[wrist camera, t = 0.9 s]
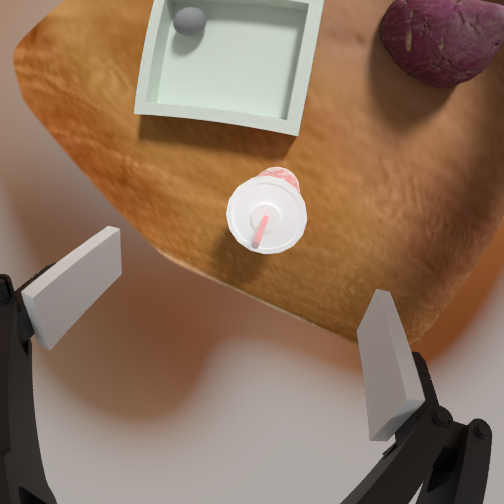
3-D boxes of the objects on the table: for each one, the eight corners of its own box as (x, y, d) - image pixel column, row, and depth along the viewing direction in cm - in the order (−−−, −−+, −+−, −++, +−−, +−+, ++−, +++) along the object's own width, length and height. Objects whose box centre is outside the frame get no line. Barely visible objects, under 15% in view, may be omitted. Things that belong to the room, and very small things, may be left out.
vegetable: (445, 20, 20) (534, -13, 6) (457, 98, 24) (564, 91, 9) (368, -7, 20) (449, -75, 5) (380, 78, 23) (492, 39, 9)
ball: (213, 12, 22) (203, 2, 19) (207, 39, 24) (196, 32, 21) (183, 12, 22) (171, 3, 20) (178, 38, 24) (164, 32, 21)
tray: (322, 8, 21) (324, -5, 18) (298, 134, 28) (297, 136, 24) (171, -3, 22) (157, -12, 19) (150, 112, 29) (133, 113, 26)
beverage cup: (261, 149, 29) (226, 178, 17) (317, 175, 29) (325, 224, 17) (238, 201, 32) (193, 263, 19) (291, 226, 32) (279, 303, 20)
